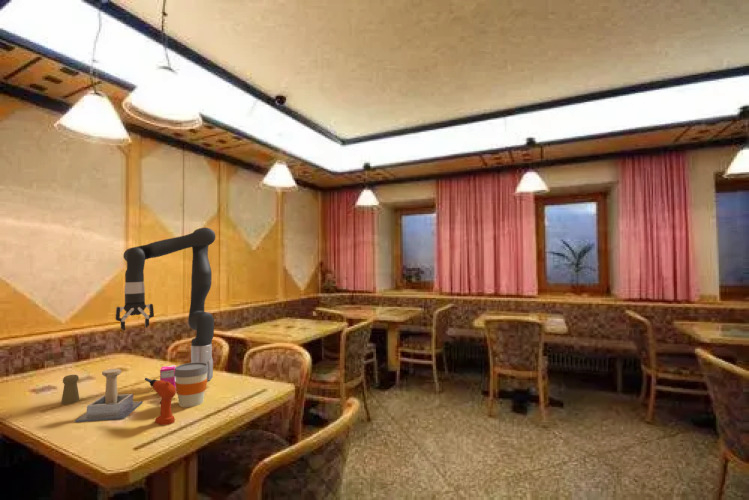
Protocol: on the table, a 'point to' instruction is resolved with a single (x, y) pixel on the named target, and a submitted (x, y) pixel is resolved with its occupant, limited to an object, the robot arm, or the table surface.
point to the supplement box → (168, 374)
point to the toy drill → (164, 400)
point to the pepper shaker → (70, 390)
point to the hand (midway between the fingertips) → (135, 328)
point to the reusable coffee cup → (191, 383)
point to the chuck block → (110, 409)
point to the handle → (111, 385)
